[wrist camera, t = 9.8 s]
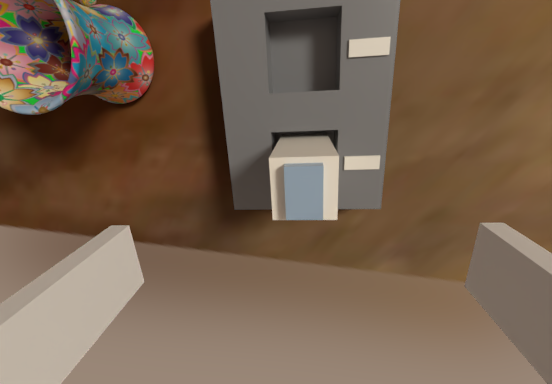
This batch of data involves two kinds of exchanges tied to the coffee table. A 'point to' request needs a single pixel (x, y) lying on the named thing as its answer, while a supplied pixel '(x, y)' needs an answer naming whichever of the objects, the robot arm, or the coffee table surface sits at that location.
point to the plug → (304, 178)
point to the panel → (306, 88)
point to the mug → (69, 54)
